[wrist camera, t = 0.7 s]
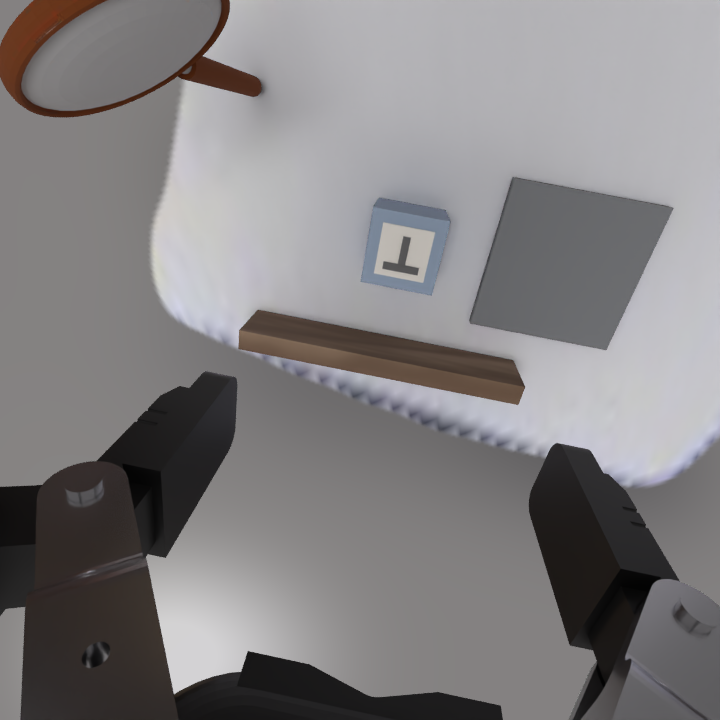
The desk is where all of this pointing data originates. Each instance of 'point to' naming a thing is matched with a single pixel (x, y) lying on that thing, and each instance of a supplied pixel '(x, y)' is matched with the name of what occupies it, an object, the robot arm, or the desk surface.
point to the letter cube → (405, 246)
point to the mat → (566, 262)
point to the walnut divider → (382, 356)
